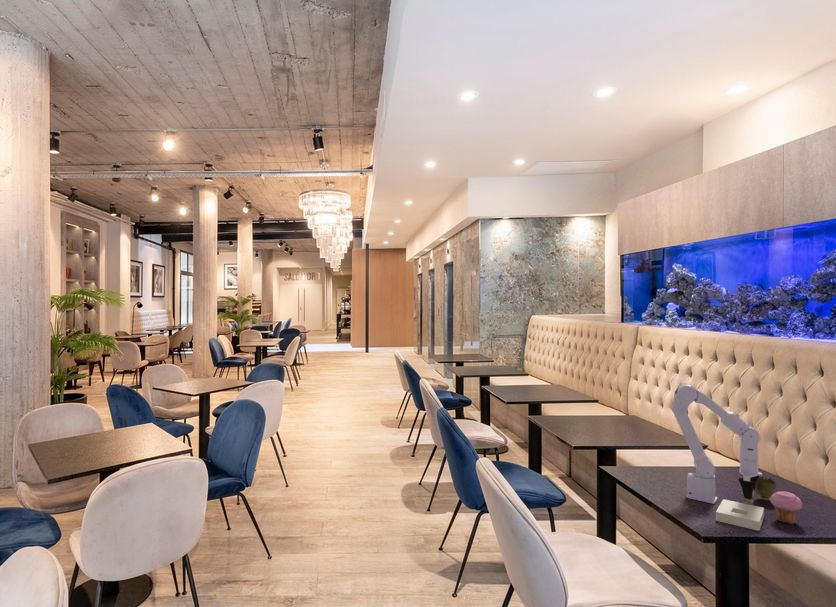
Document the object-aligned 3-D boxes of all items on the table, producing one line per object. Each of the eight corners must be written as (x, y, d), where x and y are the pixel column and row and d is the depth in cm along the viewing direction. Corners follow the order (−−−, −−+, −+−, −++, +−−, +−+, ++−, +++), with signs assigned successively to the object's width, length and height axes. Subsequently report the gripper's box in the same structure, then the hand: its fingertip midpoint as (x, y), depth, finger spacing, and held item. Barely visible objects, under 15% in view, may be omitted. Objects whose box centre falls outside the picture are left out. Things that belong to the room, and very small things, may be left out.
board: (715, 520, 174) (715, 511, 174) (723, 507, 186) (723, 499, 186) (759, 530, 166) (759, 521, 166) (764, 516, 178) (764, 507, 178)
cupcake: (767, 520, 175) (768, 491, 175) (773, 514, 181) (773, 485, 181) (799, 528, 168) (799, 498, 168) (804, 521, 174) (804, 492, 175)
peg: (743, 505, 188) (743, 483, 189) (744, 503, 191) (744, 481, 191) (753, 507, 187) (753, 485, 187) (753, 505, 189) (754, 483, 189)
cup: (780, 504, 190) (780, 483, 190) (758, 502, 192) (758, 481, 192) (770, 497, 198) (770, 476, 198) (749, 495, 199) (749, 475, 199)
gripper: (759, 465, 181) (759, 504, 181) (763, 457, 192) (763, 493, 192) (736, 461, 185) (736, 499, 185) (741, 453, 197) (741, 489, 196)
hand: (748, 496), depth 189 cm, fingers open, 7 cm apart
